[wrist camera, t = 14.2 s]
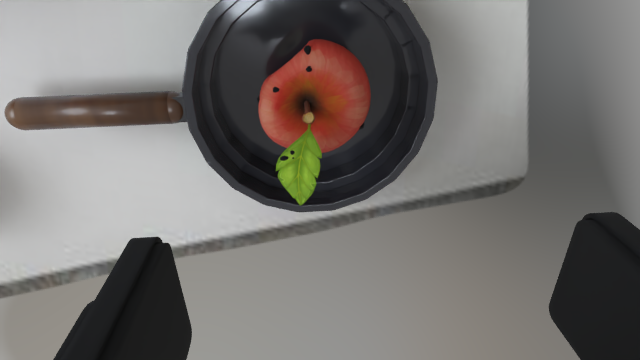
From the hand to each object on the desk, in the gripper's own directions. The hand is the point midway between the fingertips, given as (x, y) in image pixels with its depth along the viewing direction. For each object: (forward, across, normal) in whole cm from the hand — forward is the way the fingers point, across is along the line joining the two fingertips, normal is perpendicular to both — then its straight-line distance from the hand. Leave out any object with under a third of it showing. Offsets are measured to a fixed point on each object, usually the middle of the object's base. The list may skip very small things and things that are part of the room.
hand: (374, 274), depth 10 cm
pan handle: (+19, +14, +2) cm, 23 cm away
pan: (+22, +1, +2) cm, 22 cm away
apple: (+21, +1, +2) cm, 21 cm away
